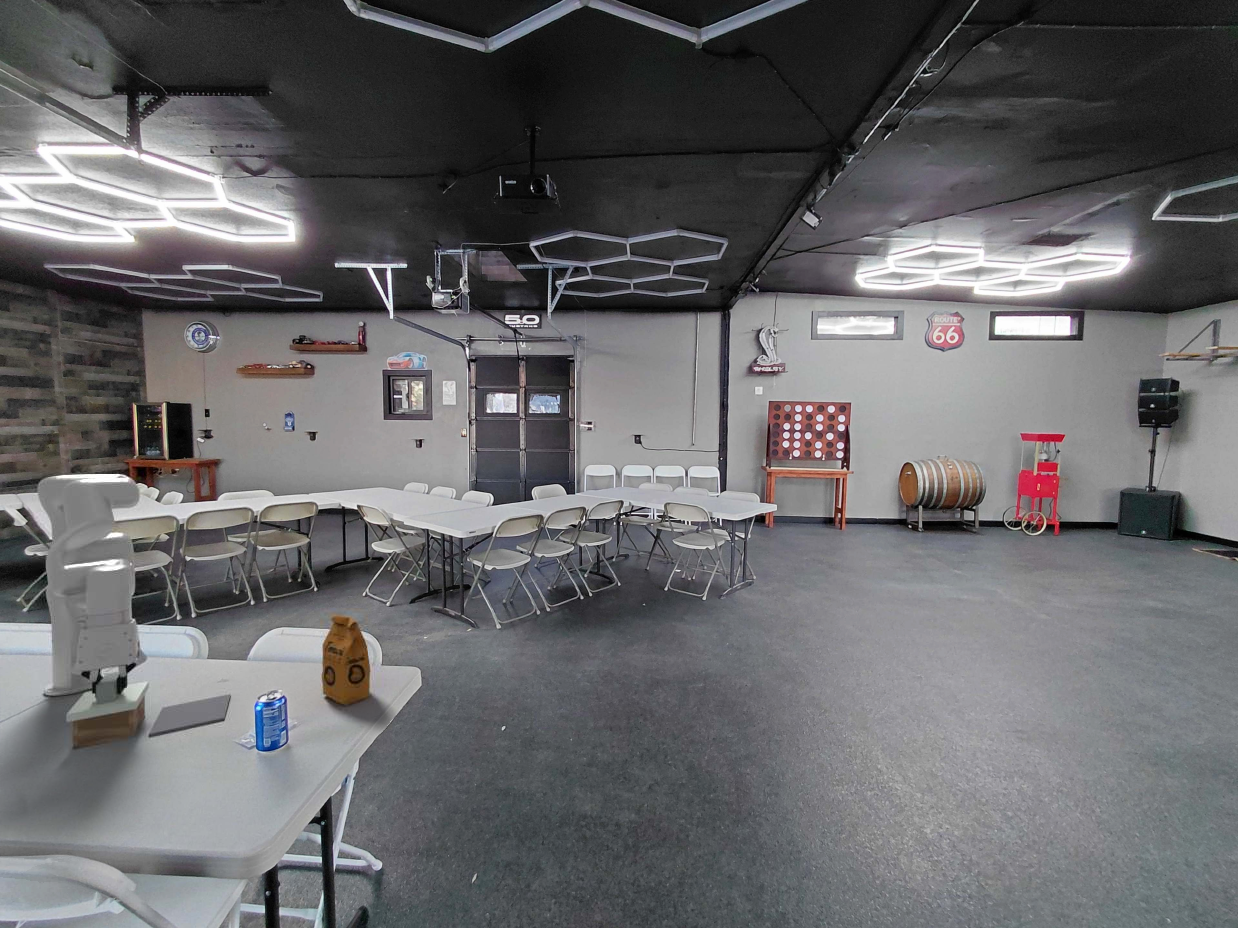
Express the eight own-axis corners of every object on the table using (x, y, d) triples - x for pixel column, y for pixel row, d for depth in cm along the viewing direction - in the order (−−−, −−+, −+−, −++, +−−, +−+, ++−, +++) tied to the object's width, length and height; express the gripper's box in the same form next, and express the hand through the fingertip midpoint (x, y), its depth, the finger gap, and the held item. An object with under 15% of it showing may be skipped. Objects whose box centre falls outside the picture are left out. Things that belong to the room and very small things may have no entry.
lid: (85, 699, 120) (84, 673, 120) (148, 688, 126) (148, 663, 126) (66, 722, 111) (66, 694, 110) (136, 708, 117) (136, 682, 117)
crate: (88, 727, 120) (88, 699, 120) (144, 716, 125) (144, 689, 125) (72, 749, 112) (72, 718, 111) (133, 736, 117) (133, 706, 117)
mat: (162, 709, 129) (162, 707, 129) (230, 696, 136) (230, 693, 136) (148, 736, 117) (148, 733, 117) (224, 719, 125) (224, 717, 125)
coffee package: (338, 710, 130) (338, 628, 129) (317, 696, 137) (317, 617, 137) (375, 696, 138) (376, 618, 137) (354, 682, 145) (354, 608, 145)
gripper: (52, 628, 110) (53, 709, 111) (151, 616, 119) (152, 691, 120) (66, 618, 117) (67, 695, 117) (159, 607, 125) (159, 679, 126)
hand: (110, 692), depth 118 cm, fingers closed on lid, 3 cm apart
